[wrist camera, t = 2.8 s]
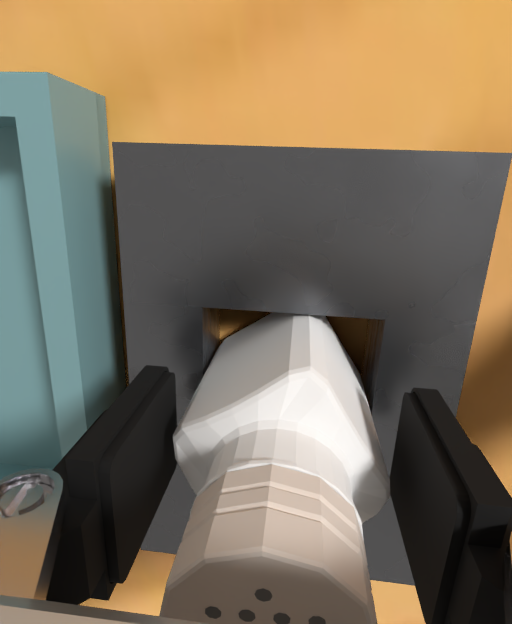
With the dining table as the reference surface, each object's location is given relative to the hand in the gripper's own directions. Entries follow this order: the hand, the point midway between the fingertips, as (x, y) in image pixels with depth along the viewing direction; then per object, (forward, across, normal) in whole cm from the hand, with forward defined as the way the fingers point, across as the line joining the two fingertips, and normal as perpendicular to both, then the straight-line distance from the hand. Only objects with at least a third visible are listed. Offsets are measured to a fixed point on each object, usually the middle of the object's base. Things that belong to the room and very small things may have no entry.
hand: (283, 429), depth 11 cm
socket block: (+4, 0, 0) cm, 4 cm away
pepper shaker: (+5, 0, 0) cm, 5 cm away
